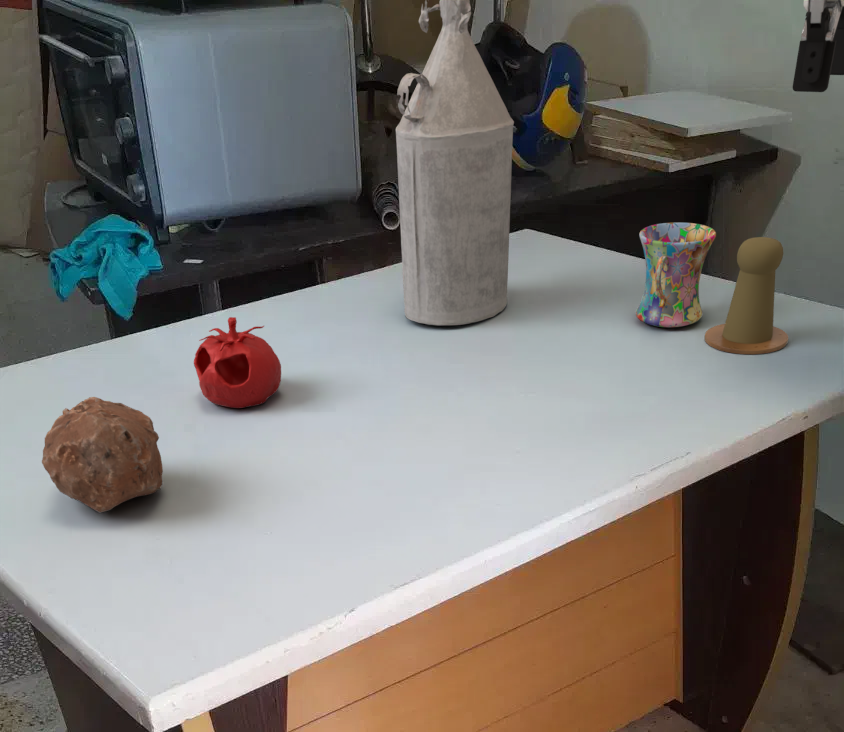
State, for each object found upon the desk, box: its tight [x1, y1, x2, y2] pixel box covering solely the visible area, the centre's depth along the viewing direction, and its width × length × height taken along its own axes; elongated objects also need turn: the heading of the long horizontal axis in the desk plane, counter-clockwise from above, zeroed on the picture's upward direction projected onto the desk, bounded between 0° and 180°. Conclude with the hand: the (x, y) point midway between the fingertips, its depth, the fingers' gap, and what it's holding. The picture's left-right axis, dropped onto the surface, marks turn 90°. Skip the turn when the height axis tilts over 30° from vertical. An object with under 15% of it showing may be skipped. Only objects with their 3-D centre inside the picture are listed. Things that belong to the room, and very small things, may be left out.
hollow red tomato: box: [193, 316, 282, 409], centre depth 117 cm, size 10×10×9 cm
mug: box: [635, 222, 717, 328], centre depth 128 cm, size 12×9×11 cm
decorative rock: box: [41, 396, 164, 514], centre depth 99 cm, size 13×11×10 cm
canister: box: [395, 0, 515, 327], centre depth 126 cm, size 13×17×40 cm
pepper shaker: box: [722, 236, 784, 344], centre depth 122 cm, size 6×6×11 cm
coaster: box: [704, 323, 789, 355], centre depth 126 cm, size 10×10×1 cm
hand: (820, 82), depth 100 cm, fingers open, 9 cm apart
